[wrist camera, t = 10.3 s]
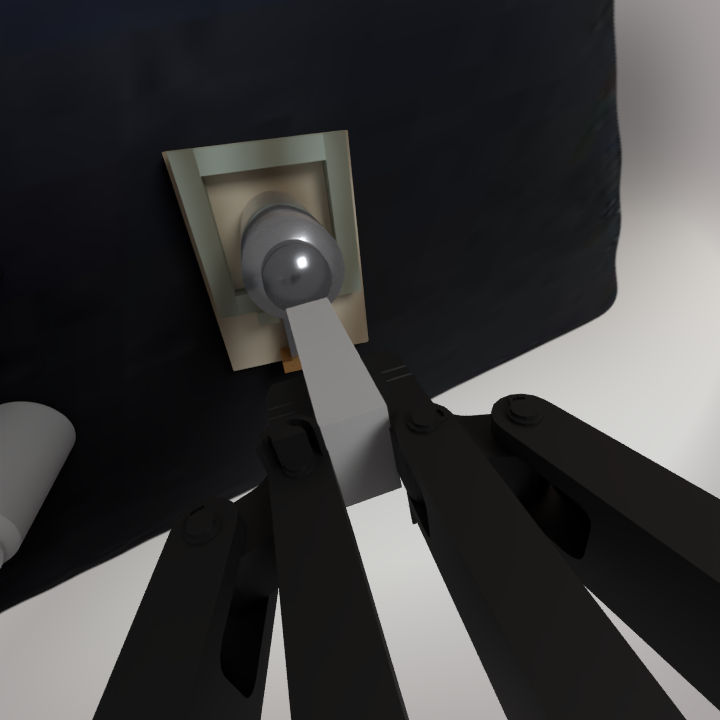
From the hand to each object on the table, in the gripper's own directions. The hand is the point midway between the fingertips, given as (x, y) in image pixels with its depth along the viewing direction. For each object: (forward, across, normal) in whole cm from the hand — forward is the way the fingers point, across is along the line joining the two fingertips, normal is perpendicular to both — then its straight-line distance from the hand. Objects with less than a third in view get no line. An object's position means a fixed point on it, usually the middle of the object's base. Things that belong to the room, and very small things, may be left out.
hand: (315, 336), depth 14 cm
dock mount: (+18, 0, -2) cm, 18 cm away
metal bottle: (+17, 0, +1) cm, 17 cm away
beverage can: (+19, -24, -10) cm, 32 cm away
